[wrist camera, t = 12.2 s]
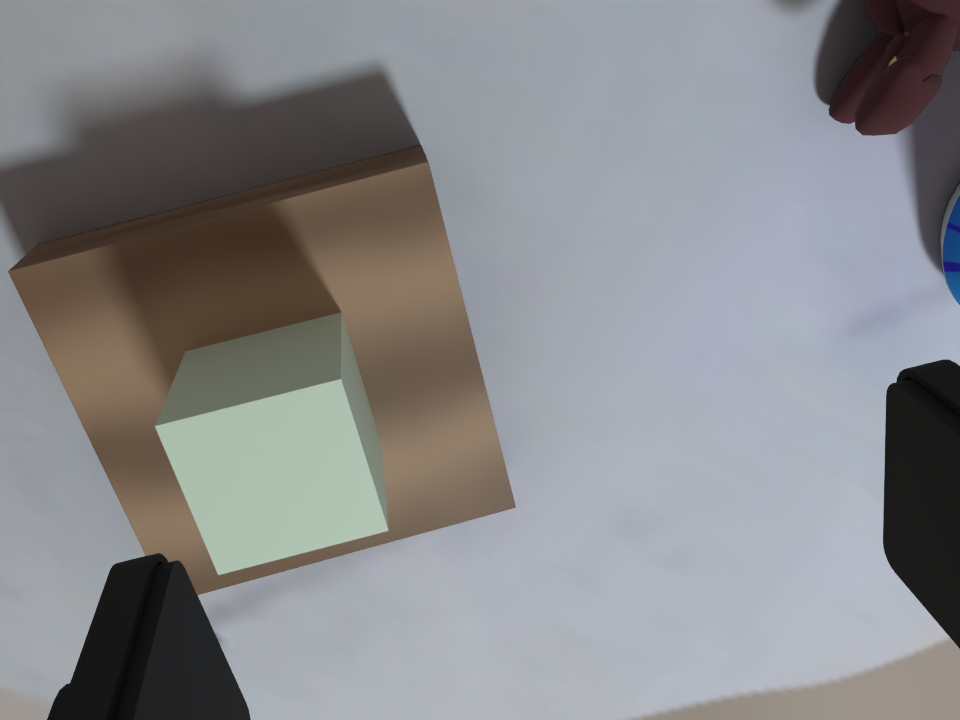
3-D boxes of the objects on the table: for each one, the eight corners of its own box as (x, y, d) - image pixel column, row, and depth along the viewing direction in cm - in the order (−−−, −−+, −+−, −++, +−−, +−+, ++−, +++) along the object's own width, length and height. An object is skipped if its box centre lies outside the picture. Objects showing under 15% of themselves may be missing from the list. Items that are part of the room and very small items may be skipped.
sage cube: (185, 351, 31) (155, 426, 26) (341, 312, 31) (341, 378, 26) (237, 483, 33) (218, 575, 28) (381, 445, 33) (388, 530, 28)
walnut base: (37, 245, 31) (8, 271, 29) (421, 145, 32) (428, 161, 29) (181, 556, 37) (168, 603, 35) (503, 468, 38) (516, 507, 35)
